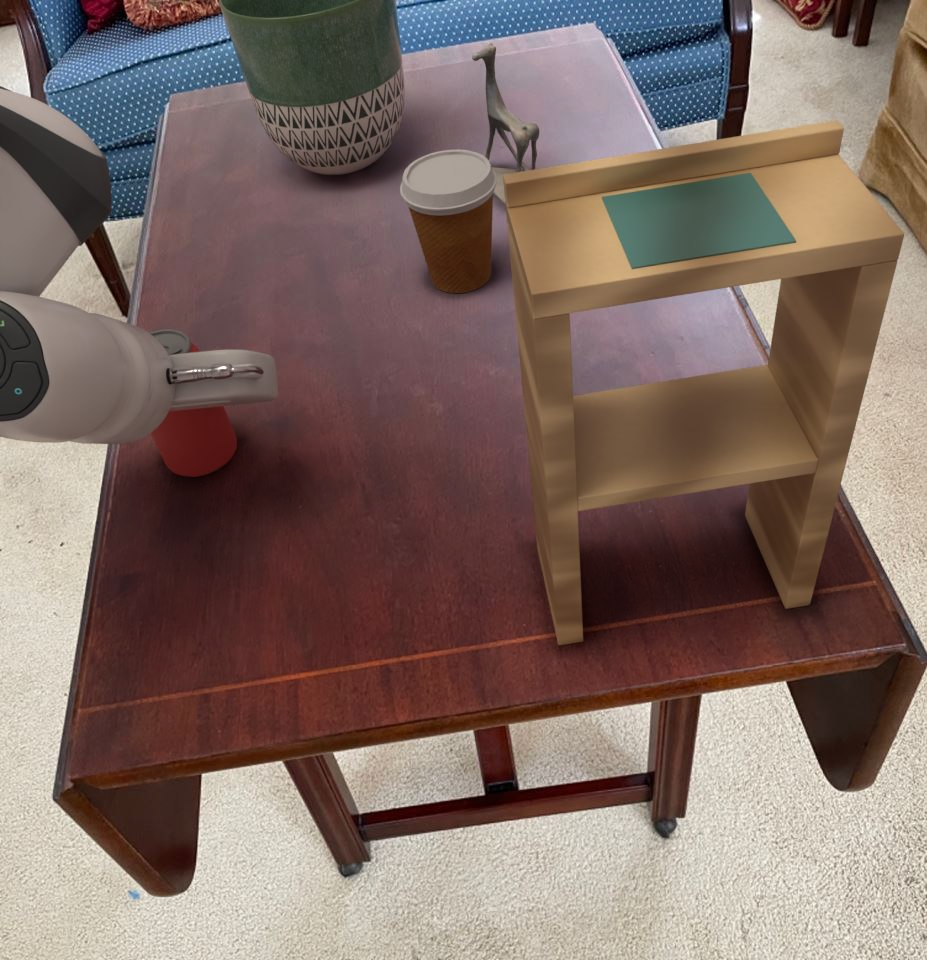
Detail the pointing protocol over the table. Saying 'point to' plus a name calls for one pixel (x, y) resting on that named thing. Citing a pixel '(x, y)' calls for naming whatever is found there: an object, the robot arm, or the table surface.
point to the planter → (322, 77)
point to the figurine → (505, 123)
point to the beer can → (192, 426)
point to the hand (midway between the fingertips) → (179, 394)
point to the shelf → (712, 397)
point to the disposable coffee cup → (452, 216)
